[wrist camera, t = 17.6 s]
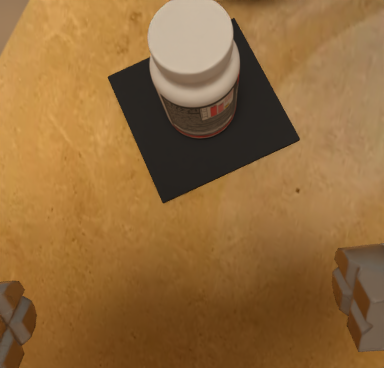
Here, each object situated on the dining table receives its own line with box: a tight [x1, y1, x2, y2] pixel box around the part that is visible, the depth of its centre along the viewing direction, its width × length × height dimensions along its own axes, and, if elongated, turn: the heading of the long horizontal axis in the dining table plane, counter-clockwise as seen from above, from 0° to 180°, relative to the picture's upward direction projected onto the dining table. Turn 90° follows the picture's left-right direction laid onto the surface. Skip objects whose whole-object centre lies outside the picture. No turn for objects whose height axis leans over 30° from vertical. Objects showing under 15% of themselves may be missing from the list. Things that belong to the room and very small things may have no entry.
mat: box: [108, 18, 300, 203], centre depth 28 cm, size 12×12×1 cm
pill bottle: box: [148, 0, 240, 138], centre depth 23 cm, size 6×6×10 cm
